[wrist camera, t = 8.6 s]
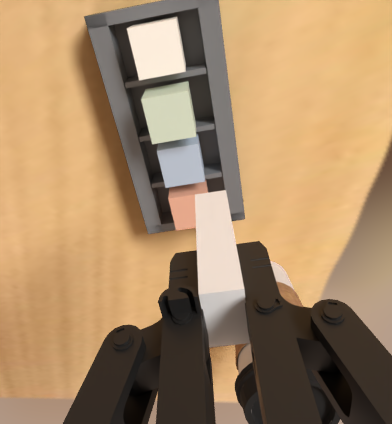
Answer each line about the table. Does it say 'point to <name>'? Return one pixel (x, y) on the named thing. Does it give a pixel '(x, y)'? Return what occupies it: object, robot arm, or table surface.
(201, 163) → the key slate
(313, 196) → the table surface
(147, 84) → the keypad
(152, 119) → the key sage
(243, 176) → the table surface
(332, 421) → the coffee cup
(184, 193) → the key terracotta
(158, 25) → the key cream
